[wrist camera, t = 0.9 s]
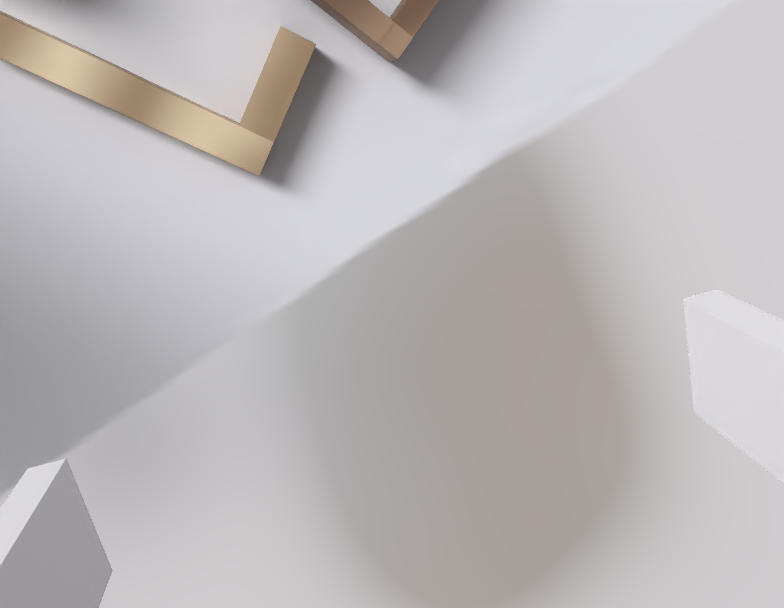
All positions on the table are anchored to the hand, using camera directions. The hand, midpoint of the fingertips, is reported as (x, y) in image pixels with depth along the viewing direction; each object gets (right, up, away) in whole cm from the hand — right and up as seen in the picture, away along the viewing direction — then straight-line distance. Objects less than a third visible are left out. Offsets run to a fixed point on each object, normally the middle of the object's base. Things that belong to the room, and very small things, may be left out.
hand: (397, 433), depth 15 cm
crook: (-12, +15, +19) cm, 27 cm away
